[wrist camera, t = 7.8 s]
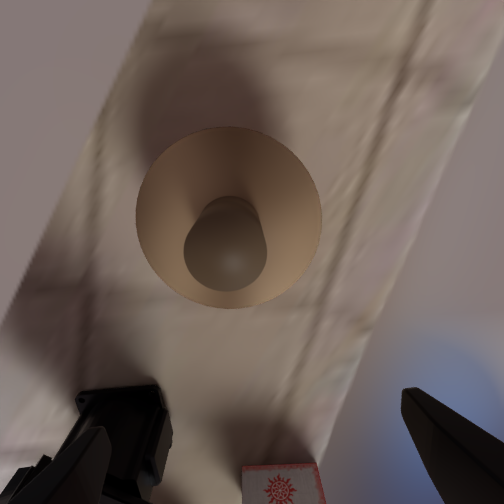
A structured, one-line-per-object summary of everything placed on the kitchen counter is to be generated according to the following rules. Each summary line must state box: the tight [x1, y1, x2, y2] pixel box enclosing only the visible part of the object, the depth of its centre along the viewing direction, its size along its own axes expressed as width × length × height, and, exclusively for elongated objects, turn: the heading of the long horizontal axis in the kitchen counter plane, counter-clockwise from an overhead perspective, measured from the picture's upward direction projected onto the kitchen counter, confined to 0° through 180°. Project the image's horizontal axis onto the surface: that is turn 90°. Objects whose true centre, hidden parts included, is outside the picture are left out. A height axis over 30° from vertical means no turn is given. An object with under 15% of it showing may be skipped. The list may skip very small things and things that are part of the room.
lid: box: [136, 127, 322, 309], centre depth 13 cm, size 9×9×5 cm
